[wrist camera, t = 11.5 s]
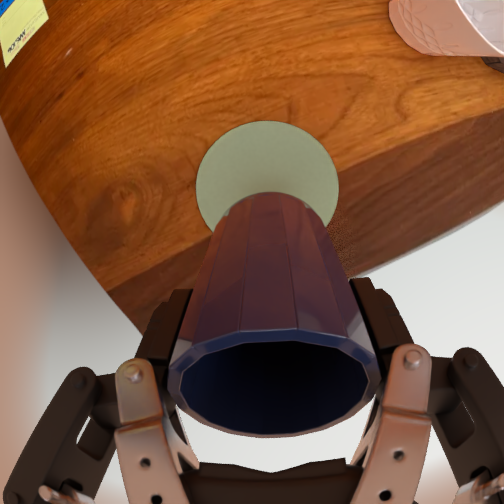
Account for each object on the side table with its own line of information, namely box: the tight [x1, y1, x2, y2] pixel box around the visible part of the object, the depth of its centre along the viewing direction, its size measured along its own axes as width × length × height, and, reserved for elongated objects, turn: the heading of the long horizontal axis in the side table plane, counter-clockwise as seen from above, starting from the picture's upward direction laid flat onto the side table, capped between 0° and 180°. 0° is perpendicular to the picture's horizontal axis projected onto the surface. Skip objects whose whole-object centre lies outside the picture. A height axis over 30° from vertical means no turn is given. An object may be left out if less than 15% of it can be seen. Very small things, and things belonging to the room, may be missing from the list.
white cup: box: [389, 0, 504, 57], centre depth 9 cm, size 8×8×10 cm
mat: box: [196, 121, 339, 232], centre depth 23 cm, size 12×12×1 cm
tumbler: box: [166, 192, 382, 438], centre depth 11 cm, size 6×6×9 cm
